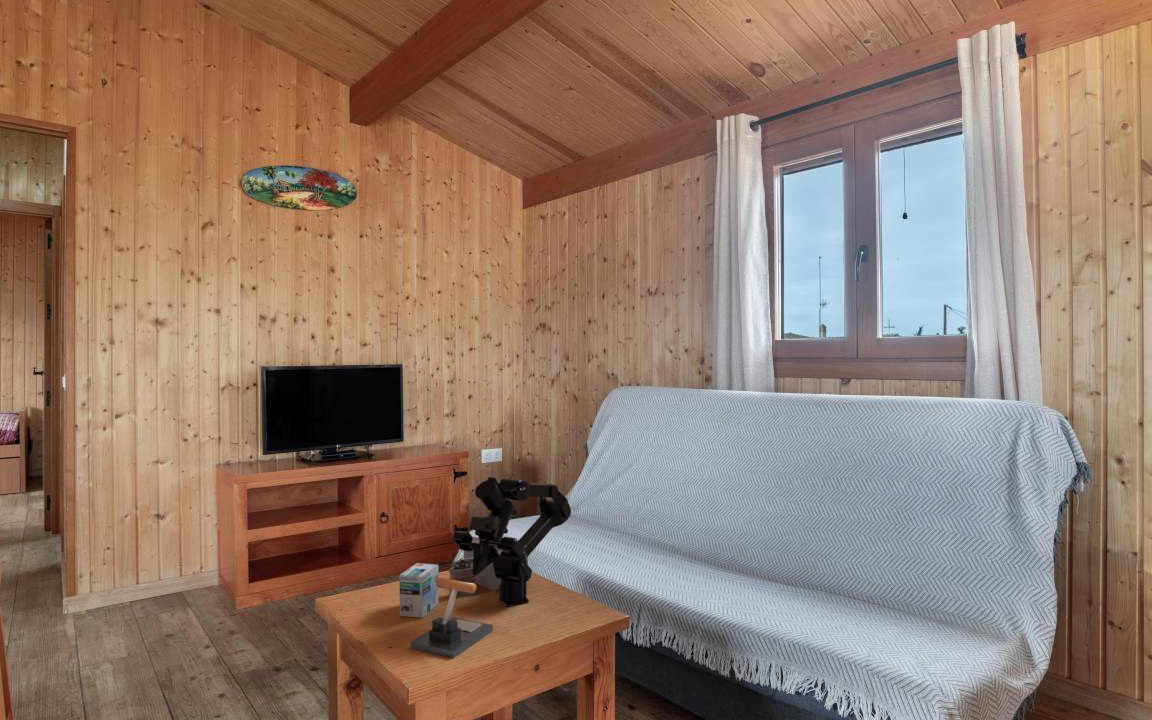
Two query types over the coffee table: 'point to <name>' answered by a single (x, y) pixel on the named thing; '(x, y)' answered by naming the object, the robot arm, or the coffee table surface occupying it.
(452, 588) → the lever
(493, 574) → the cassette player
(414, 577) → the light bulb box
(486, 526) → the robot arm
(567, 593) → the coffee table surface
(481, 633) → the switch panel
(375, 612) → the coffee table surface
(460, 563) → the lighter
